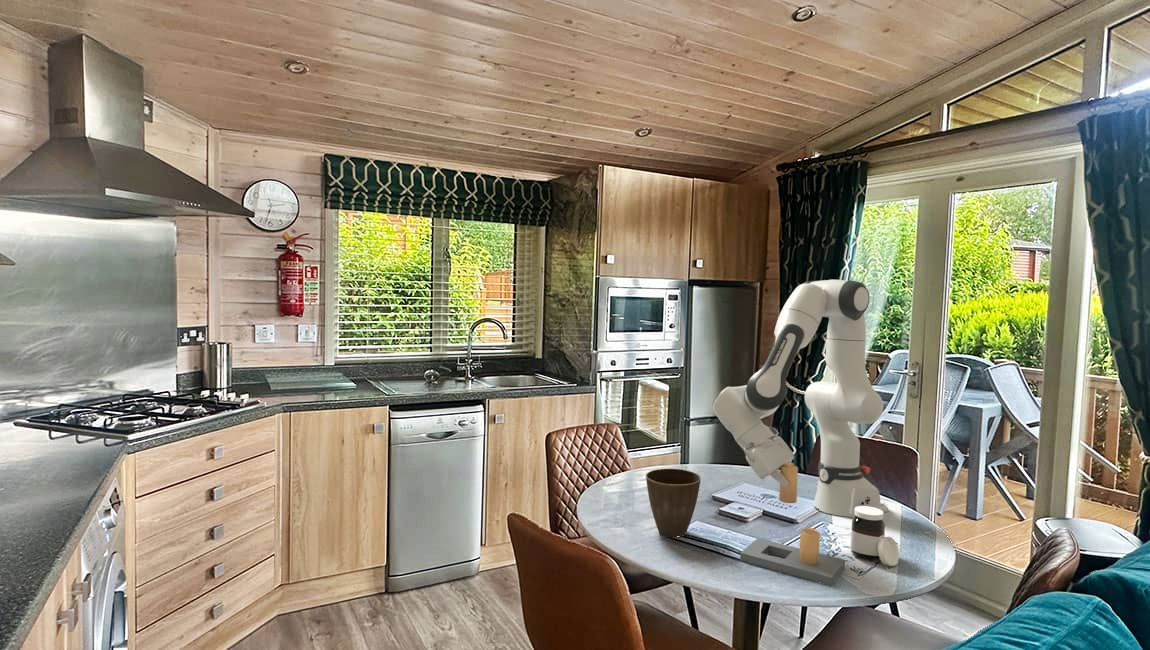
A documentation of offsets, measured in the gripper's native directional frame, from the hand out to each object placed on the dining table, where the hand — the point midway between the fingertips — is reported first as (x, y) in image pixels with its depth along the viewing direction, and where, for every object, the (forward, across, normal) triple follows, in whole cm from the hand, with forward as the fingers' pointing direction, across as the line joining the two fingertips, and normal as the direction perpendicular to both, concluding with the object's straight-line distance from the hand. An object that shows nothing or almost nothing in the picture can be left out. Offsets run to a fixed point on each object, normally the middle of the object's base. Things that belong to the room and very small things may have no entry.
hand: (791, 482), depth 171 cm
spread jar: (+26, +6, -2) cm, 27 cm away
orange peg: (+3, 0, +4) cm, 5 cm away
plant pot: (-8, -12, +32) cm, 35 cm away
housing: (+15, -12, +9) cm, 21 cm away
